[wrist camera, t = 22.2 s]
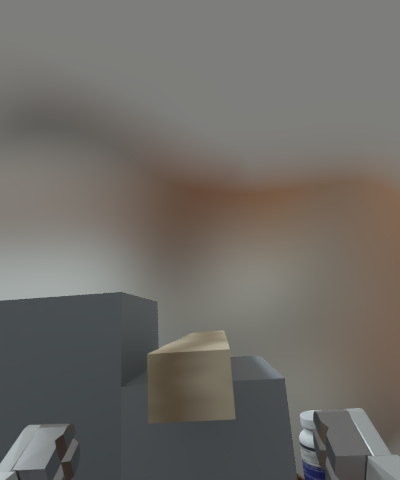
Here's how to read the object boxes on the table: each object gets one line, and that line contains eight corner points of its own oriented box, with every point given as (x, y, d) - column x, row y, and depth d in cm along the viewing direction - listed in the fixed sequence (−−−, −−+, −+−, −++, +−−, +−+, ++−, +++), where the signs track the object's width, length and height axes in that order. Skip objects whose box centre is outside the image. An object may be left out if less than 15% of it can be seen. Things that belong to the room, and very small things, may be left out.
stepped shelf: (-79, 746, 18) (-22, 302, 25) (50, 561, 31) (64, 308, 38) (331, 747, 17) (272, 281, 23) (281, 555, 30) (253, 295, 37)
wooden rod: (148, 423, 14) (147, 354, 14) (193, 357, 37) (192, 332, 38) (235, 419, 14) (229, 349, 14) (226, 355, 37) (224, 330, 37)
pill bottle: (342, 487, 41) (329, 407, 44) (364, 512, 36) (348, 419, 38) (301, 490, 41) (290, 410, 44) (316, 516, 36) (304, 422, 38)
